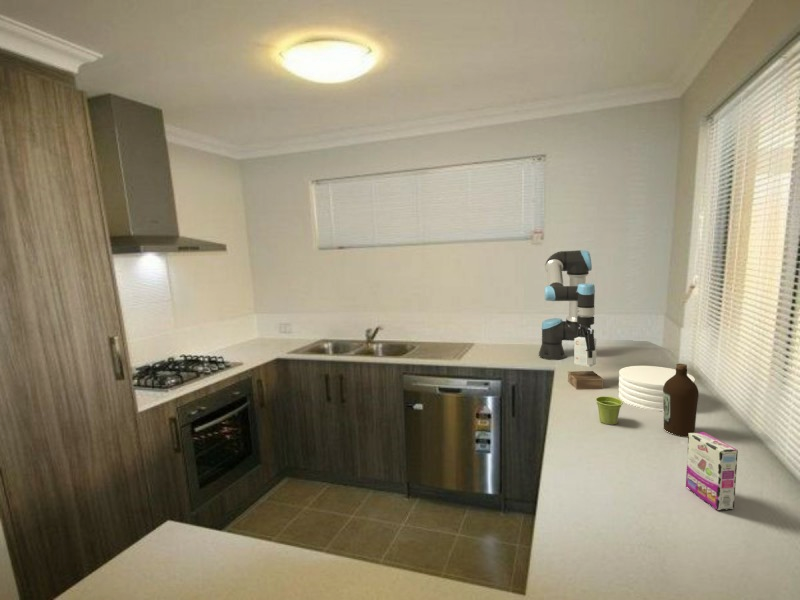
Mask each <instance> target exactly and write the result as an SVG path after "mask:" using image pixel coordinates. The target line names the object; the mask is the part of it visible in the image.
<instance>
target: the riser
mask: <svg viewBox="0 0 800 600" xmlns="http://www.w3.org/2000/svg"><path fill="white" fill-rule="evenodd" d="M603 381H604V378H603V377H602V376H600V375H599V374H598V373H596V372H595V371H594V370H582V371H579V370H578V371H567V382H568V383H569V384H570V385H571V386H572V387H573V388H575V390H603V389H604V388H603V384H604V383H603Z"/></svg>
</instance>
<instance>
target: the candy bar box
mask: <svg viewBox="0 0 800 600" xmlns="http://www.w3.org/2000/svg"><path fill="white" fill-rule="evenodd" d="M687 438H688V439H687V455H686V458H687V459H686V475H685V476H686V477H685V478H686V479H685V488H686V487H688V488H689V489H690V490H691V491H692V492H693V493H692V492H691V491H690V490H689V491H690V492H691V493H692V494H694V493H695V494H696V495H695V494H694V495H695V496H696V497H698V496H699V497H700V498H699V497H698V498H699V499H700V500H702V499H703V500H704V501H703V500H702V501H703V502H705V503H706V502H707V503H706V504H708V505H709V504H710V505H711V506H710V505H709V506H710V507H712V506H713V507H714V508H715V510H716V509H717V510H722V511H727V510H726V509H733V510H735V500H736V499H735V497H736V486H737V469H738V468H737V467H738V455H739V454H738V453H739V452H738V451H739V450H738V449H737V448H735V447H733V446H731V445H730V444H728V443H726V442H723V441H721V440H720V439H718V438H716V437H714V436H712V435H710V434H708V433H707V432H705V431H702V432H701V431H700V432H699V431H698V432H695V433H688V437H687ZM713 507H712V508H713ZM714 508H713V509H714ZM717 510H716V511H717Z"/></svg>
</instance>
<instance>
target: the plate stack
mask: <svg viewBox="0 0 800 600" xmlns="http://www.w3.org/2000/svg"><path fill="white" fill-rule="evenodd" d="M675 374H676V368H675V369H674V368H670V367H664V366H663V367H662V366H654V365H630V366H625V367H622V368H620V369H619V371H618V399H620V400H621V401H622V402H623V401H624V402H623V403H625V404H626V405H629V404H630V405H629V406H631V405H633V406H632V407H634V406H636V407H635V408H637V407H640V408H639V409H641V408H644V409H643V410H645V409H649V410H648V411H650V410H655V411H654V412H657V411H664V407H663V387H664V384H665V382H666V381H667V380H669V379H670V378H671V377H673V376H674V375H675ZM687 376H688V377H689V378H690V379H691V380H692V381H693V382H694V383H695V384H696V379H695V377H694V376H693V375H691V374H689V372H687Z"/></svg>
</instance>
